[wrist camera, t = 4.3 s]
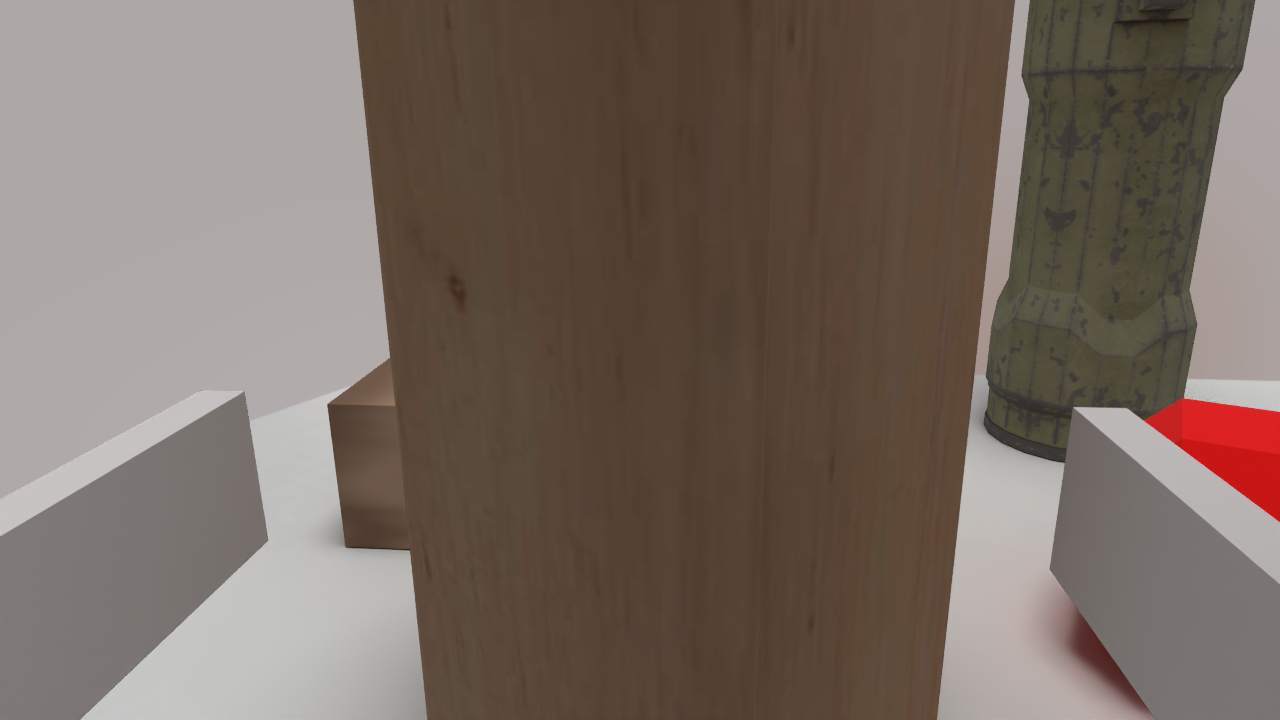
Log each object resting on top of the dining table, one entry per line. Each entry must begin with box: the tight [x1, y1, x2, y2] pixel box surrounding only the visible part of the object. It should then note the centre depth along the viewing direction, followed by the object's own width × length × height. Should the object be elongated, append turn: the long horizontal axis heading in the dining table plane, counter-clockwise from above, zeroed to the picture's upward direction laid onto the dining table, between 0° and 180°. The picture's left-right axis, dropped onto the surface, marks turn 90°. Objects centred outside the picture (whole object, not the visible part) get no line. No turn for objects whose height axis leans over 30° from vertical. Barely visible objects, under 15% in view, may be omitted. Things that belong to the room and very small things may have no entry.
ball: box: [1144, 398, 1280, 522], centre depth 25 cm, size 8×8×8 cm
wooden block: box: [353, 0, 1015, 720], centre depth 20 cm, size 10×10×20 cm
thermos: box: [984, 0, 1255, 462], centre depth 39 cm, size 9×12×35 cm
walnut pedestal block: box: [327, 358, 410, 549], centre depth 38 cm, size 13×13×6 cm
